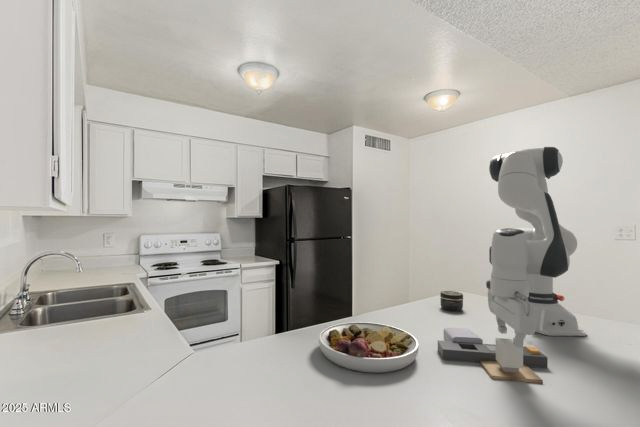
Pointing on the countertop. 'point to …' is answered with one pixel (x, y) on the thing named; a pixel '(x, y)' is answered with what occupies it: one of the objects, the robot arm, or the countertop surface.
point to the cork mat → (510, 373)
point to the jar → (451, 301)
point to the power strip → (486, 353)
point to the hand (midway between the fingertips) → (509, 339)
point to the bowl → (368, 346)
